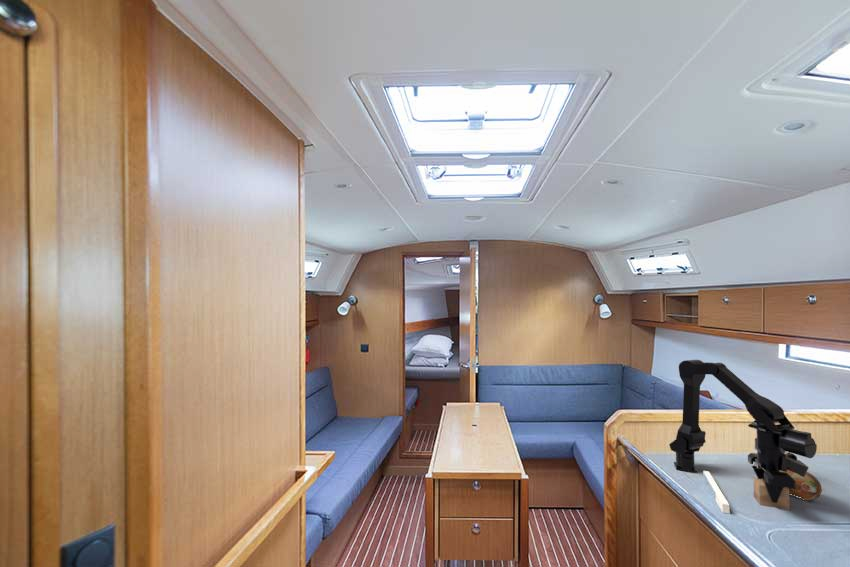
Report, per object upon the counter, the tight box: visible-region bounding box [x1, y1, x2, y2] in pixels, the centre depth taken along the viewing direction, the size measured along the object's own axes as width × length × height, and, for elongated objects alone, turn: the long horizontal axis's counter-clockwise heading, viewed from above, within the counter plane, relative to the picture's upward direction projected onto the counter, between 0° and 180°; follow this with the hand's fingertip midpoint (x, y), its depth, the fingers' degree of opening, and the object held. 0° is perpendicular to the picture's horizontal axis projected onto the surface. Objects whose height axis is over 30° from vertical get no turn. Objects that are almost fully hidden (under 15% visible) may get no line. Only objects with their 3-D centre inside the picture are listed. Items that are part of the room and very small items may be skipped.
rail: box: [702, 470, 731, 514], centre depth 127 cm, size 24×2×2 cm, turn 156°
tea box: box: [753, 477, 791, 511], centre depth 121 cm, size 7×5×6 cm
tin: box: [779, 470, 823, 502], centre depth 127 cm, size 15×3×8 cm, turn 21°
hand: (770, 498), depth 121 cm, fingers closed on tea box, 5 cm apart
